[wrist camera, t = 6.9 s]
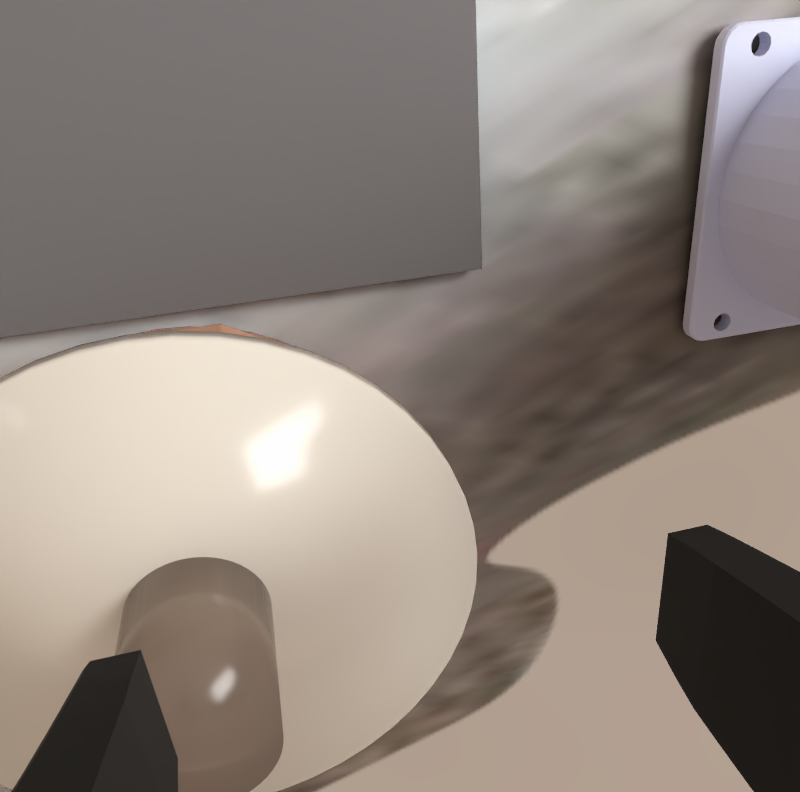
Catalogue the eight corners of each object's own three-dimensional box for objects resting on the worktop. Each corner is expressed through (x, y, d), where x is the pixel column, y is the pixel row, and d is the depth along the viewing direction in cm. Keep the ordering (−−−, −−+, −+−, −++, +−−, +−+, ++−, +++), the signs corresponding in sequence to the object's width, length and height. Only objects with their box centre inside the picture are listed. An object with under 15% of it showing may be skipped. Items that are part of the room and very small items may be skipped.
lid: (457, 283, 14) (536, 359, 11) (478, 718, 20) (534, 863, 16) (-263, 394, 12) (-470, 536, 8) (-5, 845, 18) (-62, 1043, 14)
